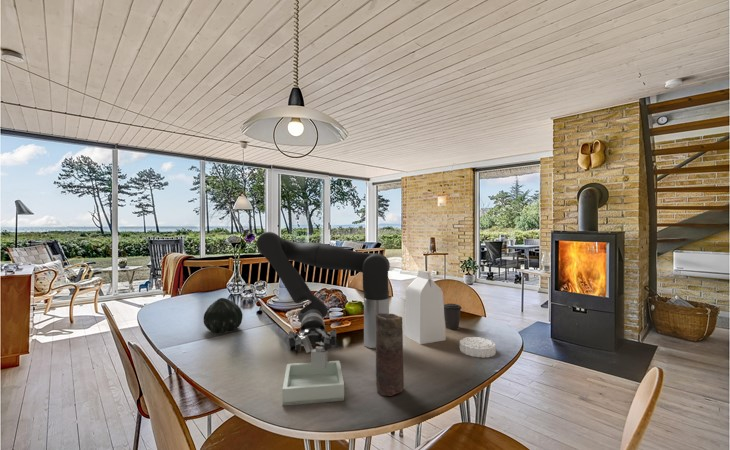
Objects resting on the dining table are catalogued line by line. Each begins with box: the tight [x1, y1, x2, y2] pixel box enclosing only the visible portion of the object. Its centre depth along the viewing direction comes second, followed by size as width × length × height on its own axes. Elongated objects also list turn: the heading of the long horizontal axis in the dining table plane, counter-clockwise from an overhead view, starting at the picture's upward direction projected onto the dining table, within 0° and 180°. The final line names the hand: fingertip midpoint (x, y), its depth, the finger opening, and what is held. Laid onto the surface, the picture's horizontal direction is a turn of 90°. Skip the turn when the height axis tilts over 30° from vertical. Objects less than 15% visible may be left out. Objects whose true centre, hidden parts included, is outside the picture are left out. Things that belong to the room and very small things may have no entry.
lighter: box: [301, 335, 328, 369], centre depth 90 cm, size 7×2×8 cm, turn 80°
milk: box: [403, 269, 446, 345], centre depth 130 cm, size 12×12×26 cm
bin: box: [281, 360, 345, 407], centre depth 89 cm, size 15×15×4 cm
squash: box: [203, 297, 244, 335], centre depth 138 cm, size 14×15×15 cm
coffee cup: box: [444, 303, 462, 330], centre depth 143 cm, size 8×8×10 cm
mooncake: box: [459, 336, 497, 359], centre depth 116 cm, size 12×12×4 cm
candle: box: [375, 313, 405, 397], centre depth 88 cm, size 8×7×20 cm
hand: (312, 347), depth 87 cm, fingers closed on lighter, 6 cm apart
